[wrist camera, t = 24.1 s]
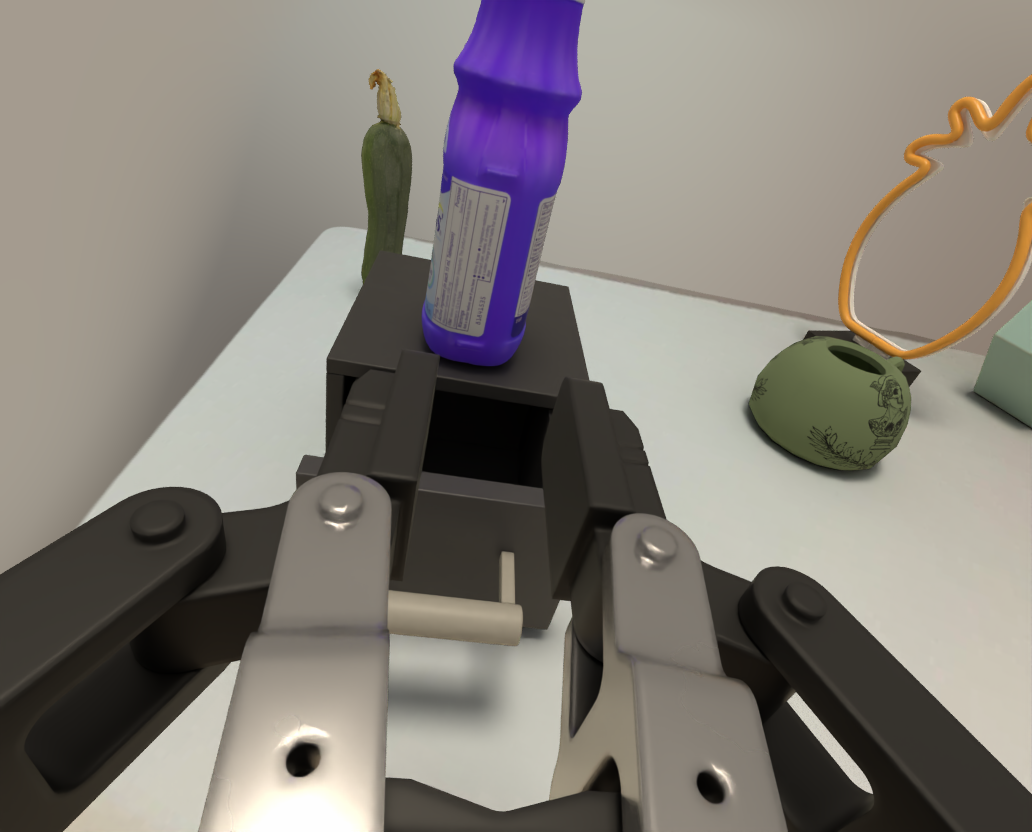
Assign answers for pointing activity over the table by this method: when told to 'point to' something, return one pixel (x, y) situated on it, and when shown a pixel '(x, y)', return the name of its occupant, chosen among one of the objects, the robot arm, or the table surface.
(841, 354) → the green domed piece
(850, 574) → the table surface
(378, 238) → the vegetable
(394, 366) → the cabinet
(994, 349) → the green magazine holder
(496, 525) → the drawer
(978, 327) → the lamp
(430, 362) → the robot arm
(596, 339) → the table surface
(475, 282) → the bottle
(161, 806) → the table surface
